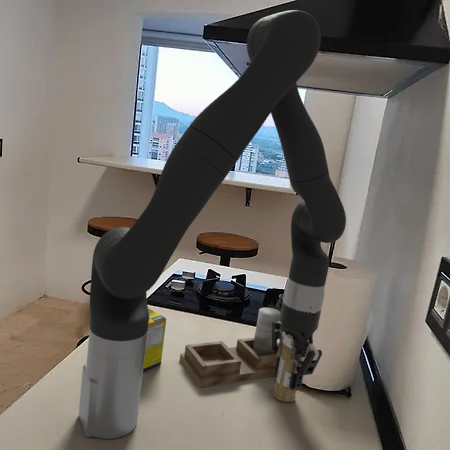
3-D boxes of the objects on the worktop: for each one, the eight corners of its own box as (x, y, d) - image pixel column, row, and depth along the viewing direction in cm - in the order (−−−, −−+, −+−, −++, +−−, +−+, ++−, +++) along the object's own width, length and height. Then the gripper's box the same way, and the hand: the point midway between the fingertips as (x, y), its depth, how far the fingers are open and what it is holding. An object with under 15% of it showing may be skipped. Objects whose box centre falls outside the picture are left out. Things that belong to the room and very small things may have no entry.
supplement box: (143, 353, 102) (148, 307, 100) (161, 364, 98) (167, 317, 96) (121, 361, 98) (126, 313, 95) (140, 373, 94) (145, 324, 92)
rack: (200, 387, 92) (208, 329, 90) (179, 359, 102) (186, 306, 99) (292, 372, 103) (302, 321, 101) (266, 348, 113) (275, 301, 110)
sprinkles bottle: (290, 405, 90) (302, 343, 87) (269, 396, 92) (280, 335, 89) (298, 395, 94) (310, 335, 91) (278, 387, 96) (289, 327, 93)
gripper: (266, 289, 93) (253, 365, 97) (309, 319, 81) (292, 405, 85) (296, 288, 97) (282, 361, 100) (342, 316, 85) (324, 399, 88)
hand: (287, 381), depth 92 cm, fingers closed on sprinkles bottle, 4 cm apart
